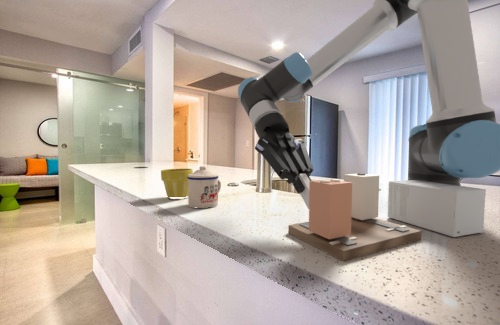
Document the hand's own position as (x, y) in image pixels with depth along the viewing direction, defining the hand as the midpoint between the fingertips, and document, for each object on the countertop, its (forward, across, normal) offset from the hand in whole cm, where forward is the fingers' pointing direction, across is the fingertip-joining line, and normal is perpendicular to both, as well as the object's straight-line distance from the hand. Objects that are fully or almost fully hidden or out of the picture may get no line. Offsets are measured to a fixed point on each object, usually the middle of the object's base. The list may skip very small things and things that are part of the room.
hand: (314, 204), depth 47 cm
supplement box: (0, -29, -2) cm, 29 cm away
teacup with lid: (-21, +10, -30) cm, 38 cm away
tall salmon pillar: (+6, 0, 0) cm, 6 cm away
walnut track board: (+7, -7, -2) cm, 10 cm away
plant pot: (-31, +16, -40) cm, 53 cm away
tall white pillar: (+2, -14, -4) cm, 15 cm away
